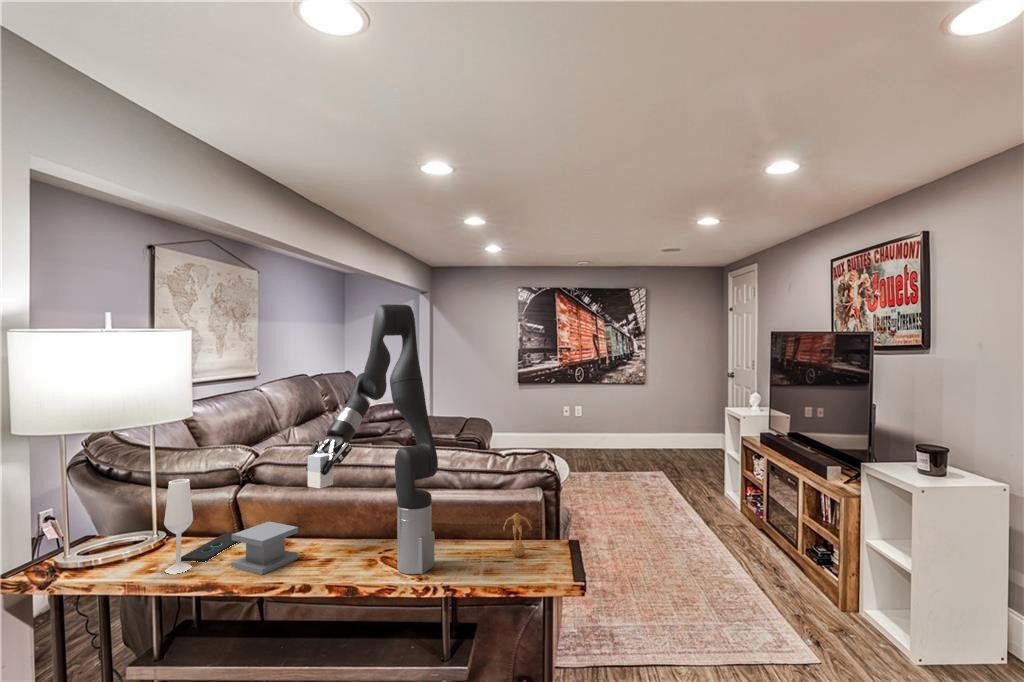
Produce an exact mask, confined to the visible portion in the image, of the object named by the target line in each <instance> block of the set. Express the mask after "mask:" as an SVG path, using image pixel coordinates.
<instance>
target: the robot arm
mask: <svg viewBox="0 0 1024 682" xmlns="http://www.w3.org/2000/svg"><path fill="white" fill-rule="evenodd" d="M414 313H415V312H414V310H413V308H412V307H411V305H408V304H381V305H379V306H377V308H376V309H375V313H374V315H373V316H374V317H373V321H372V331H371V337H370V338H371V339H370V347H369V352H368V357H367V360H366V363H365V366H364V371H363V372H361V373H359V374H358V375H356V377H355V380H354V382H353V388H352V391H351V393H350V396H349V399H348V400H347V401H346V403H345V404H344V406H343V408H342V409H340V411H339V413H338V414H337V415H336V416H335V418H334V420H333V421H332V422H331V424H330V426H329V428H328V429H327V431H326V437H324V438H323V439H322V440H321V441H319V440H318V439H315V440H314V441H313V443H312V445H311V448H310V450H309V452H308V454H307V457H308V456H309V455H313V454H317V453H318V454H319V453H328V454H329V455H330V456H329V457H328V461H326V463H325V464H324V466H323V467H322V469H321V471H320V472H321V473H322V474H323V475H326V474H327V473H328V472H329V471H330V469H331V467H332V466H333V467H334V465H336V464H338V465H339V464H342V462H343V461H344V459H346V458H347V456H348V455H349V453H351V451H352V450H353V447H352V446H351V444H350V442H351V440H352V438H353V437H354V435H355V434H356V432H357V431H358V429H359V428H360V426H361V423H362V421H363V419H364V417H365V415H366V414H367V412H368V411H369V409H370V403H369V401H368V400H367V399H366V398H365V397H367V398H369V399H371V400H373V401H379V400H381V399H382V398H383V397H384V395H386V392H387V384H388V383H387V373H388V369H389V367H390V363H391V353H390V351H389V349H388V347H387V345H386V344H385V341H384V338H385V337H386V336H388V337H389V336H391V337H392V336H401V339H402V341H401V342H402V343H401V344H402V346H401V352H400V354H399V357H398V359H397V361H396V363H395V365H394V367H393V369H392V372H391V374H390V377H389V386H390V393H391V400H392V403H393V405H394V408H395V409H396V410H397V411H398V413H399V414H400V415H401V417H402V418H403V419H404V420H405V422H406V423H408V425H409V426H410V429H411V430H412V432H413V435H414V439H415V444H416V445H411V446H404V447H400V448H399V449H398V450H396V454H395V457H394V475H395V493H396V499H397V500H396V501H397V525H396V526H397V537H396V539H397V540H396V541H397V546H396V547H397V550H396V551H397V555H396V556H397V557H396V559H397V566H396V567H397V571H398V572H399V573H402V574H406V575H424V574H425V573H427V572H428V571H429V570H431V569H432V568H433V567H435V564H436V563H435V560H436V559H435V557H436V556H435V551H436V550H435V548H436V547H435V544H436V543H435V540H436V539H435V531H434V530H432V502H433V501H432V495H431V493H430V492H429V491H428V490H423V489H419V488H417V487H416V484H415V481H418V480H423V479H429V478H433V477H434V476H435V475H436V474H437V472H438V467H439V463H438V462H439V461H438V453H437V449H436V444H435V441H434V437H433V433H432V428H431V424H430V421H429V415H428V409H427V403H426V396H425V395H426V394H425V388H424V381H423V375H422V371H421V365H420V360H419V353H418V343H417V331H416V330H417V328H416V319H415V314H414ZM362 395H363V396H362ZM364 396H365V397H364ZM305 469H306V470H305V471H306V472H307V473H308V465H307V466H306V468H305Z"/></svg>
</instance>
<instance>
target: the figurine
mask: <svg viewBox="0 0 1024 682" xmlns="http://www.w3.org/2000/svg"><path fill="white" fill-rule="evenodd" d="M521 519H522V520H525V521H526V523H527V524H528V525H527V526H529V529H530V531H531V530H532V526H531V524H530V522H529V520H528V518H527V517H525V516H523V515H520V514H519V512H516V513H514V514H513V515H511V516H509V517H508V518H506V519H505V522H504V524H503V527H502V531H505V530H506V525H507V523H508V521H510V520H513V522H514V524H513V525H512V532H513V538H514V539H513V541H514V542H513V544H512V545H511V548H510V551H511V554H512V555H513V556H514V557H517V558H518V557H519V558H520V557H522V556H523V555H524V554H525V551H526V547H525V544H523V543H522V535H523V534H522V533H523V530H522V527H523V526H522V524H520V523H521ZM517 531H518V532H519V535H518V541H517V534H516V533H517Z"/></svg>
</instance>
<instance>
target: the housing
mask: <svg viewBox="0 0 1024 682" xmlns="http://www.w3.org/2000/svg"><path fill="white" fill-rule="evenodd" d="M329 456H330V455H329V454H328V453H324V452H322V453H319V454H318V453H317V454H314V453H313V455H309V456H308V455H307V466H308V472H307V487H308V488H315V489H322V488H327V487H330V486H333V485H334V465H333V466H332V467H331V469H330V471H329V472H328V473H327V474H326V475H323V474H322V473H321V472H320V471H321V469H322V467H323V466H324V464H325V463H326V461H328V457H329Z"/></svg>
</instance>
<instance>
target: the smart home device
mask: <svg viewBox="0 0 1024 682" xmlns="http://www.w3.org/2000/svg"><path fill="white" fill-rule="evenodd" d="M234 533H235V532H232V533H231V532H225V533H223V534H221V535H219V536H216V537H215V538H214V539H212V540H210V541H207V542H206V543H204V544H202V545H201V546H198V547H197V548H195V549H193V550H191V551H189V552H187V553H186V554H183V555H181V561H196V562H195V563H199V562H205V561H208V560H209V559H211V558H212V557H214V556H216V555H217V554H218V553H220V552H222V551H223V550H225V549H227V548H229V547H230V546H232V545H234V544H236V543H238V542H239V541H234V540H232V534H234ZM238 544H239V543H238ZM216 557H217V556H216ZM211 560H212V559H211ZM197 561H198V562H197ZM208 562H209V561H208ZM205 563H206V562H205Z"/></svg>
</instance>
